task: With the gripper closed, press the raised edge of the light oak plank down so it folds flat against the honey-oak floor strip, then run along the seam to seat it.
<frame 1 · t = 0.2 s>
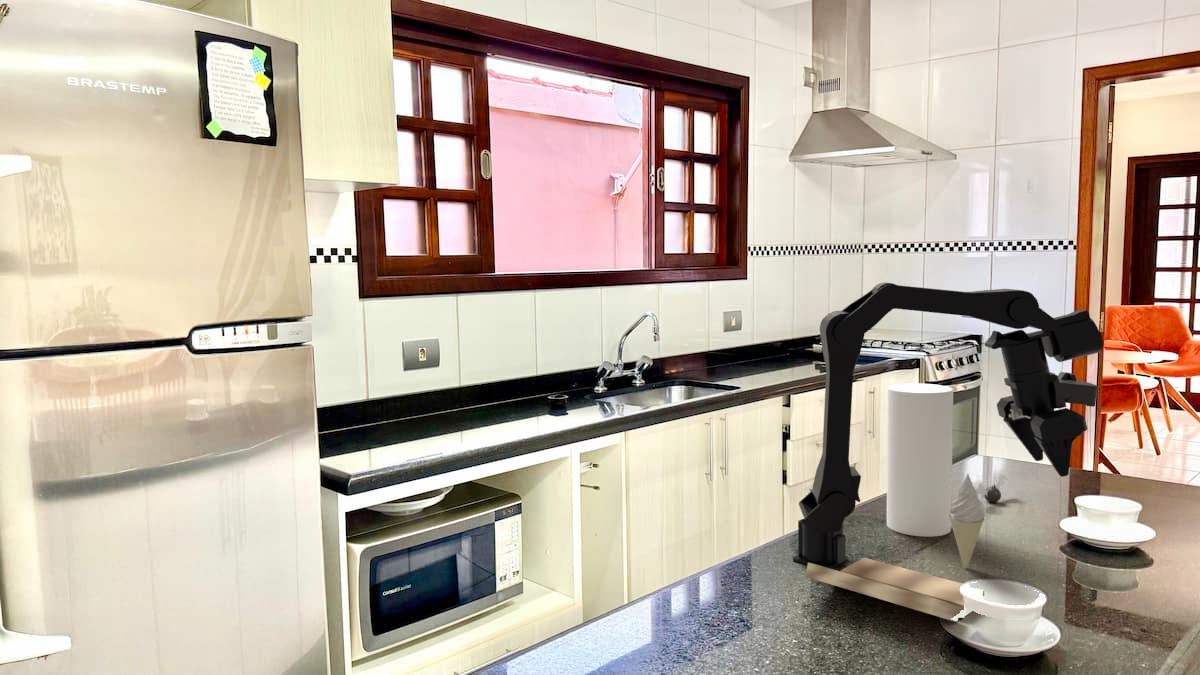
hand: (1051, 467, 125), 15 cm above the counter, tool pointing down, fingers open, 9 cm apart
tall pillar cylinder: (918, 527, 146), on the counter
oak plank: (880, 591, 112), point 3 cm above the counter, hinge at 25.0°
floor strip: (909, 593, 118), on the counter
ice cream cone: (965, 569, 127), on the counter
bat toy: (992, 503, 159), on the counter
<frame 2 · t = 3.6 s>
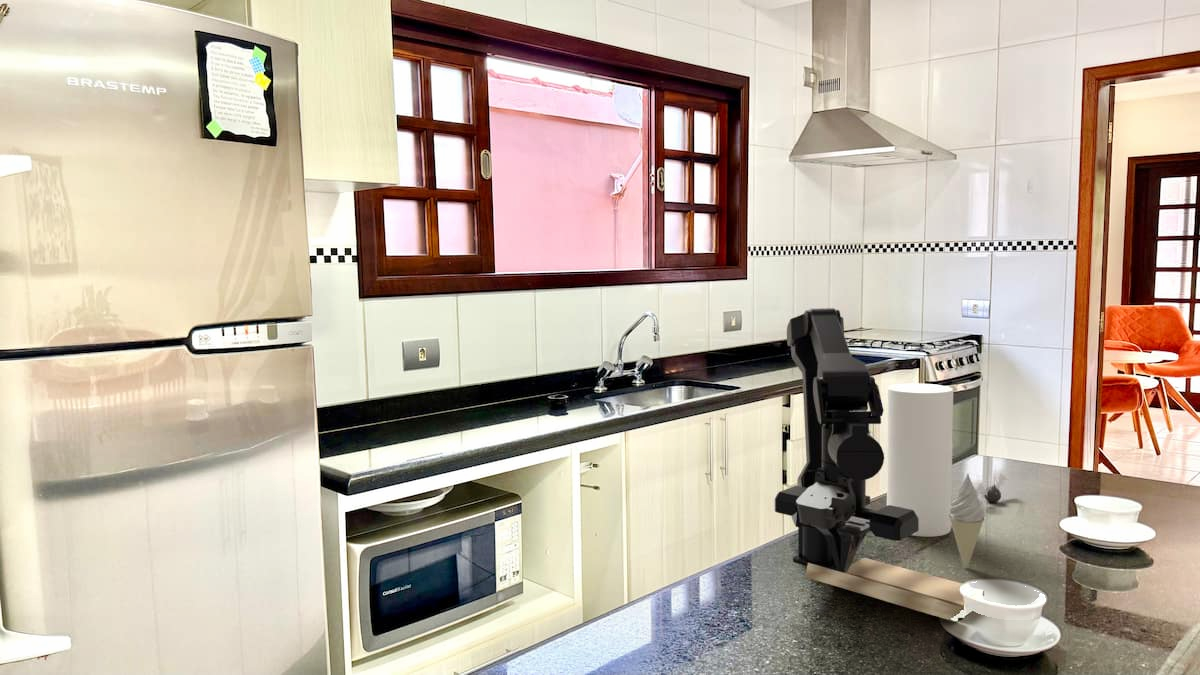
hand: (843, 572, 112), 5 cm above the counter, tool pointing down, fingers closed, pressing on oak plank
oak plank: (880, 591, 112), point 3 cm above the counter, hinge at 24.7°, touching gripper
everything else where it was.
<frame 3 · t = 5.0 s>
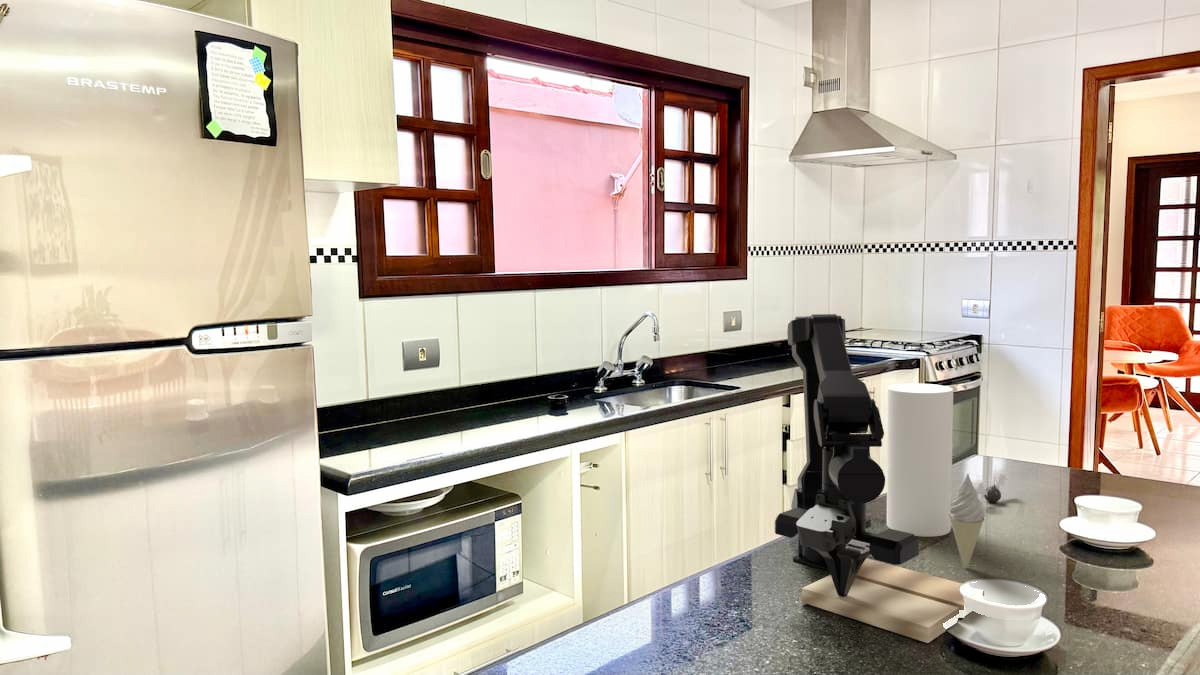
hand: (842, 595, 112), 2 cm above the counter, tool pointing down, fingers closed, pressing on oak plank
oak plank: (877, 604, 111), point 1 cm above the counter, hinge at 2.3°, touching gripper
everything else where it was.
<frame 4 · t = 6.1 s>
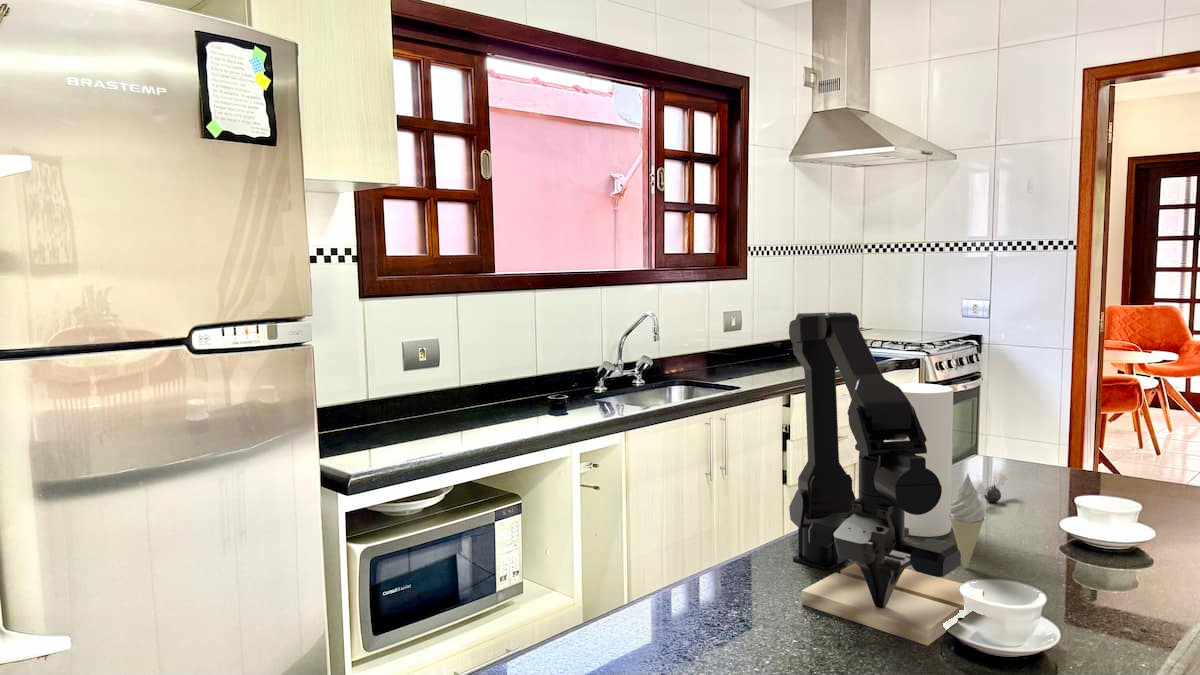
hand: (880, 606, 109), 2 cm above the counter, tool pointing down, fingers closed
oak plank: (877, 606, 111), point 1 cm above the counter, hinge at 0.3°, touching gripper
everything else where it was.
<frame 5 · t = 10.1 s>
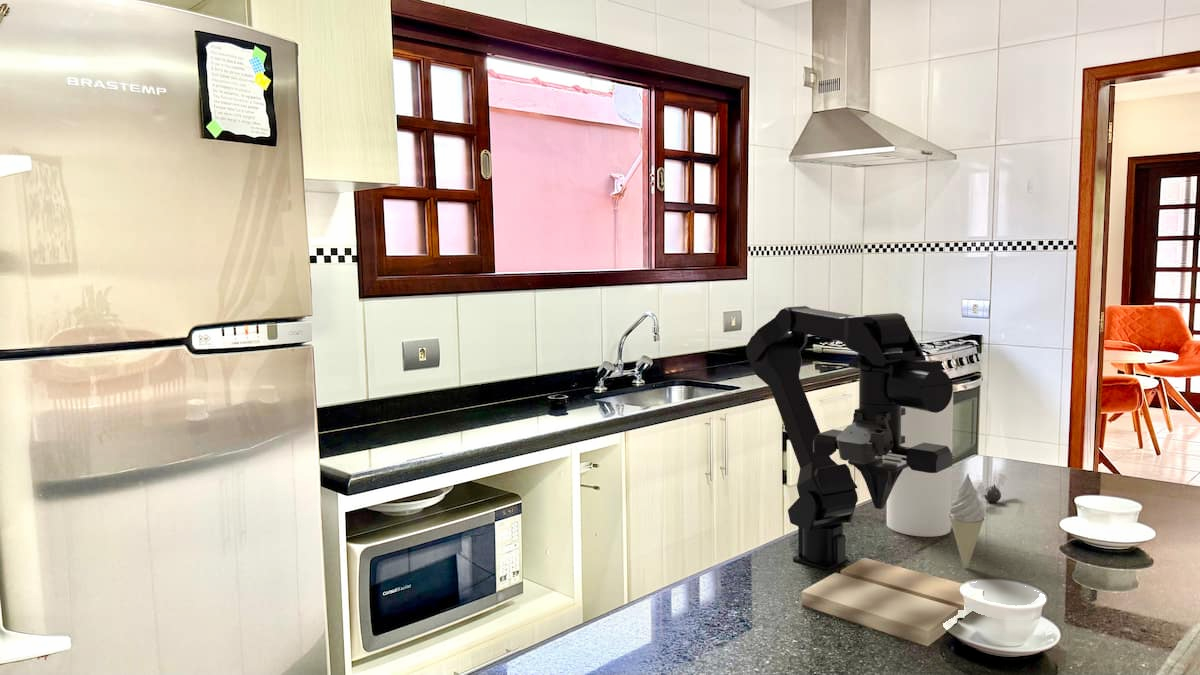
hand: (879, 508, 119), 12 cm above the counter, tool pointing down, fingers closed
oak plank: (877, 606, 111), point 1 cm above the counter, hinge at -0.4°
everything else where it was.
at the end: oak plank at +0° (first picture: +25°); the gripper is holding nothing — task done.
